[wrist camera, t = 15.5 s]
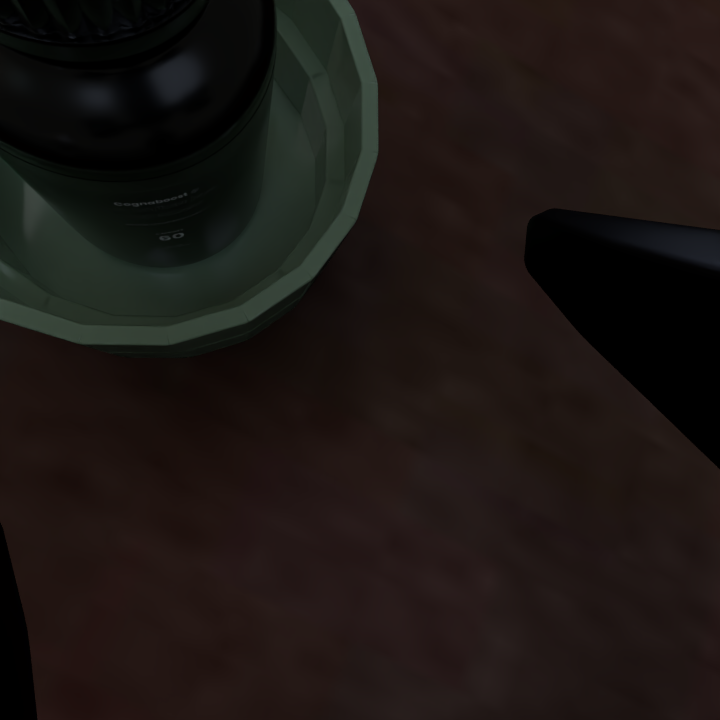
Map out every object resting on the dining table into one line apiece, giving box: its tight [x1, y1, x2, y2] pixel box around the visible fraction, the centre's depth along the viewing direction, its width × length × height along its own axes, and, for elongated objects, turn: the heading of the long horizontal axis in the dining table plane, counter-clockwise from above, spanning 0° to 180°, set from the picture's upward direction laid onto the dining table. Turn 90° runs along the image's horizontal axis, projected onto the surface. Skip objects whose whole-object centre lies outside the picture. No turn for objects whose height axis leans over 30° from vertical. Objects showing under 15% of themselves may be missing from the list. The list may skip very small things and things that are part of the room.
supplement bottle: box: [0, 0, 277, 268], centre depth 12 cm, size 7×7×12 cm
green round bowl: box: [0, 0, 378, 358], centre depth 16 cm, size 13×13×6 cm
